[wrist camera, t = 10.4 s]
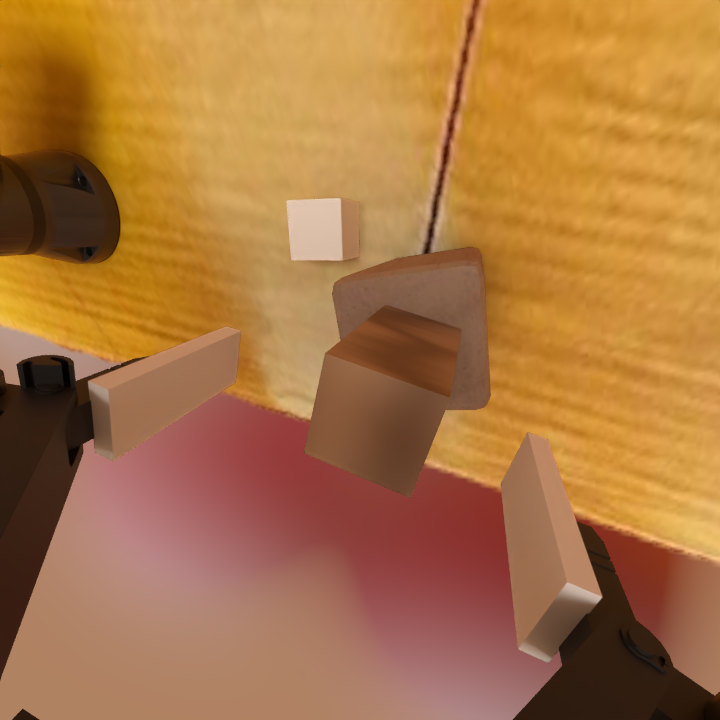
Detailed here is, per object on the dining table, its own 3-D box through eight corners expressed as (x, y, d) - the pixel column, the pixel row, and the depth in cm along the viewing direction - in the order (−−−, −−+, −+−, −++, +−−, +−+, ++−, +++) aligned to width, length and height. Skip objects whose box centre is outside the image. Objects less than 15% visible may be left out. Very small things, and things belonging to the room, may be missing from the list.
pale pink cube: (313, 256, 44) (291, 260, 39) (310, 204, 42) (286, 200, 37) (359, 256, 42) (342, 260, 37) (358, 202, 40) (340, 197, 35)
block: (485, 334, 41) (492, 415, 23) (401, 340, 44) (349, 415, 26) (480, 245, 38) (483, 258, 20) (390, 259, 41) (324, 280, 23)
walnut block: (366, 372, 25) (303, 453, 16) (385, 304, 23) (325, 353, 14) (435, 397, 24) (410, 497, 15) (461, 328, 22) (450, 397, 13)
